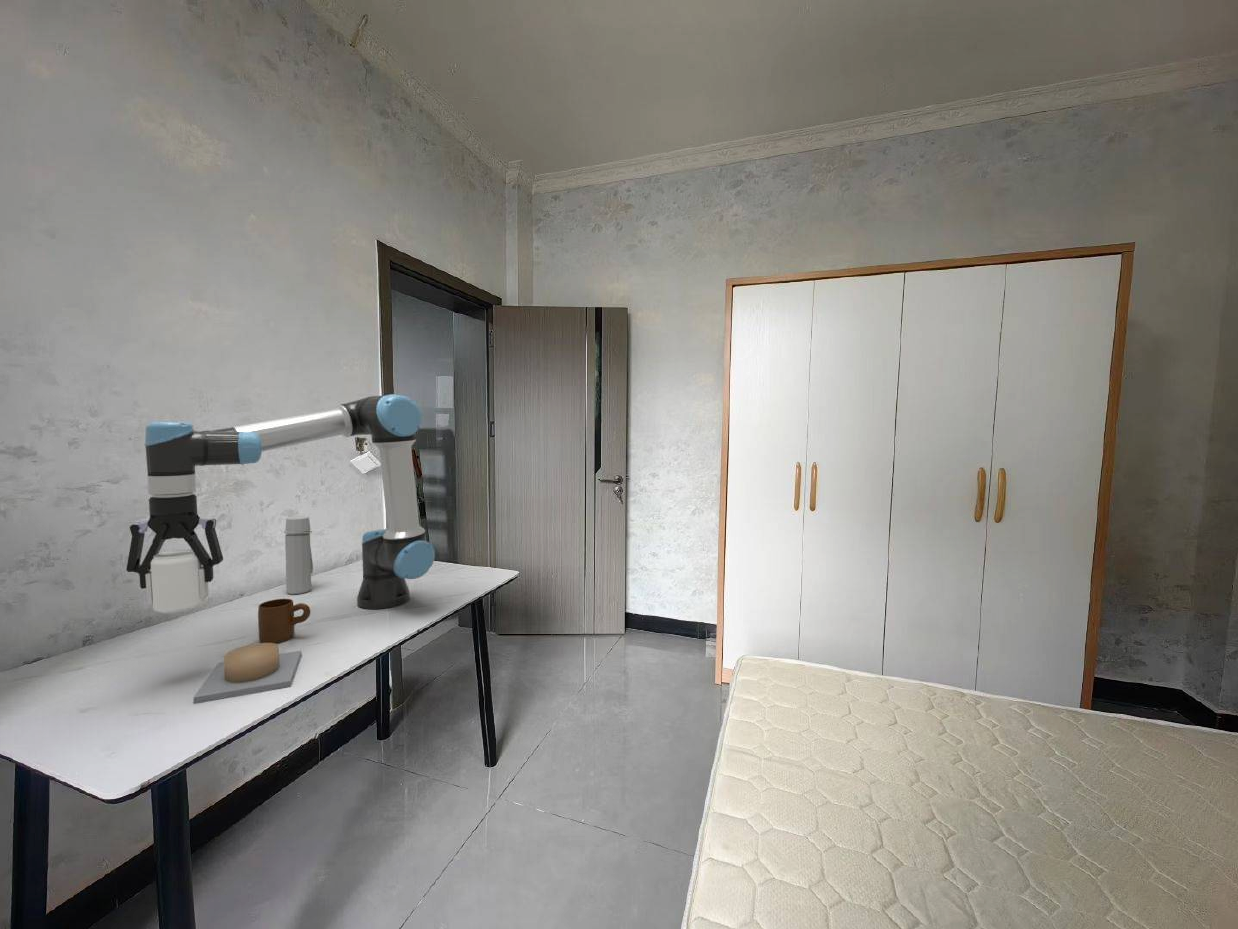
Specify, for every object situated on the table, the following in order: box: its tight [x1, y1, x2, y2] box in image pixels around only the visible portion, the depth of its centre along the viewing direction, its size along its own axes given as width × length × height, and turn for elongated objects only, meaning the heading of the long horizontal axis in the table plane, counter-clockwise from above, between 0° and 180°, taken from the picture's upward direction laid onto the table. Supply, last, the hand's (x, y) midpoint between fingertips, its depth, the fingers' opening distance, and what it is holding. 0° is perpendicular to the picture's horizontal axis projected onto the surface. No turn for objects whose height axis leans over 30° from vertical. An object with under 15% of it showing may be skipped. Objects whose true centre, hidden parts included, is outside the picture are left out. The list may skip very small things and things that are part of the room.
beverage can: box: [150, 548, 205, 614], centre depth 105 cm, size 8×8×12 cm
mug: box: [257, 598, 311, 644], centre depth 127 cm, size 12×8×9 cm, turn 97°
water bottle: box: [283, 515, 314, 595], centre depth 165 cm, size 9×8×25 cm
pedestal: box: [193, 642, 302, 704], centre depth 107 cm, size 16×16×6 cm
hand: (178, 599), depth 106 cm, fingers closed on beverage can, 8 cm apart
